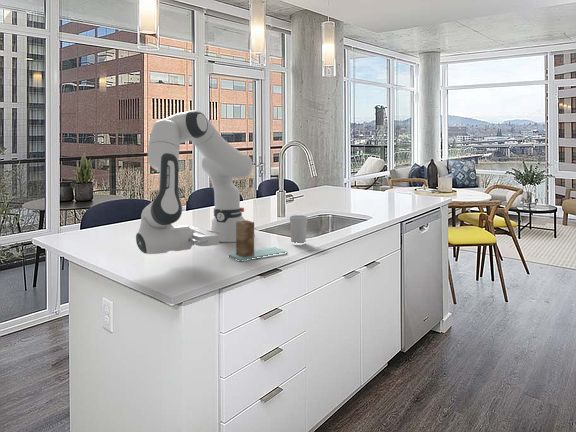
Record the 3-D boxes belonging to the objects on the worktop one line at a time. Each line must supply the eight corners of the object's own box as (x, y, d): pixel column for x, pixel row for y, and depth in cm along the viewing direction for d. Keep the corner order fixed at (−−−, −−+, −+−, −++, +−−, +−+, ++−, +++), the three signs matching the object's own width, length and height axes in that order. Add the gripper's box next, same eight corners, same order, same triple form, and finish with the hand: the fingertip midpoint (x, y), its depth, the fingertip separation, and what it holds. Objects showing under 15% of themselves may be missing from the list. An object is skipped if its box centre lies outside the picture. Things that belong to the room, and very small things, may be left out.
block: (243, 257, 194) (243, 223, 192) (236, 254, 198) (236, 221, 196) (254, 255, 197) (254, 222, 195) (247, 252, 201) (247, 220, 199)
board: (240, 261, 191) (240, 259, 191) (228, 256, 198) (228, 254, 198) (287, 253, 204) (287, 251, 204) (274, 249, 211) (274, 247, 211)
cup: (311, 244, 222) (311, 217, 220) (298, 246, 217) (298, 219, 215) (298, 241, 228) (299, 214, 226) (285, 243, 223) (285, 216, 220)
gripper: (196, 234, 172) (232, 229, 180) (171, 224, 188) (204, 220, 196) (196, 252, 173) (232, 247, 181) (171, 241, 189) (205, 236, 197)
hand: (217, 233), depth 189 cm, fingers closed
